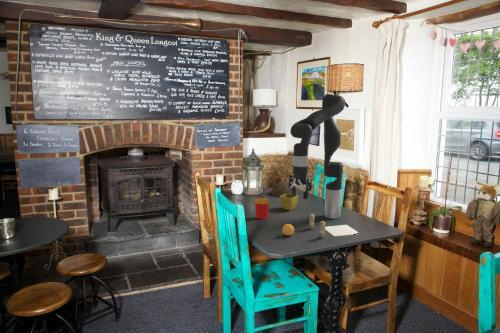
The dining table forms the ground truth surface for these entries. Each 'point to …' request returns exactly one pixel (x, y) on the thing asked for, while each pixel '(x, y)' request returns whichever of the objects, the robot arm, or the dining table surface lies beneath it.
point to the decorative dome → (281, 189)
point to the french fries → (261, 208)
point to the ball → (288, 229)
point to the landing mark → (340, 230)
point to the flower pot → (288, 201)
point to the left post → (311, 221)
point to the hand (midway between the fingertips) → (299, 197)
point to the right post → (322, 229)
